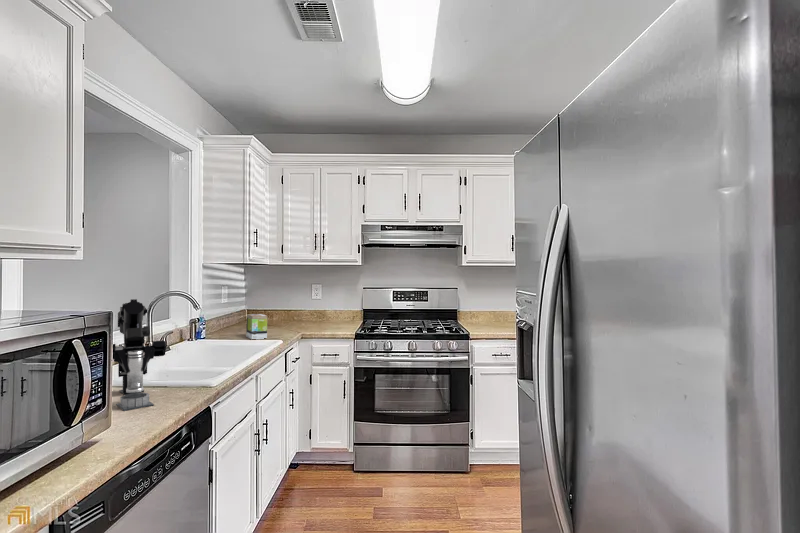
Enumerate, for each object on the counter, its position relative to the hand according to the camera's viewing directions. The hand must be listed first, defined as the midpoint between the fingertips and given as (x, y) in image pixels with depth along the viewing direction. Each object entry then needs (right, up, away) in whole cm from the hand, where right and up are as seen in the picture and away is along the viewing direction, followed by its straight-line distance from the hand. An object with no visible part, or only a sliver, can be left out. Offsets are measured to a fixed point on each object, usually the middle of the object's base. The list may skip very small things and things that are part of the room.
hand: (135, 371), depth 155 cm
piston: (-1, -7, +1) cm, 7 cm away
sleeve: (-1, -11, +1) cm, 11 cm away
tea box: (-6, -12, +149) cm, 150 cm away
